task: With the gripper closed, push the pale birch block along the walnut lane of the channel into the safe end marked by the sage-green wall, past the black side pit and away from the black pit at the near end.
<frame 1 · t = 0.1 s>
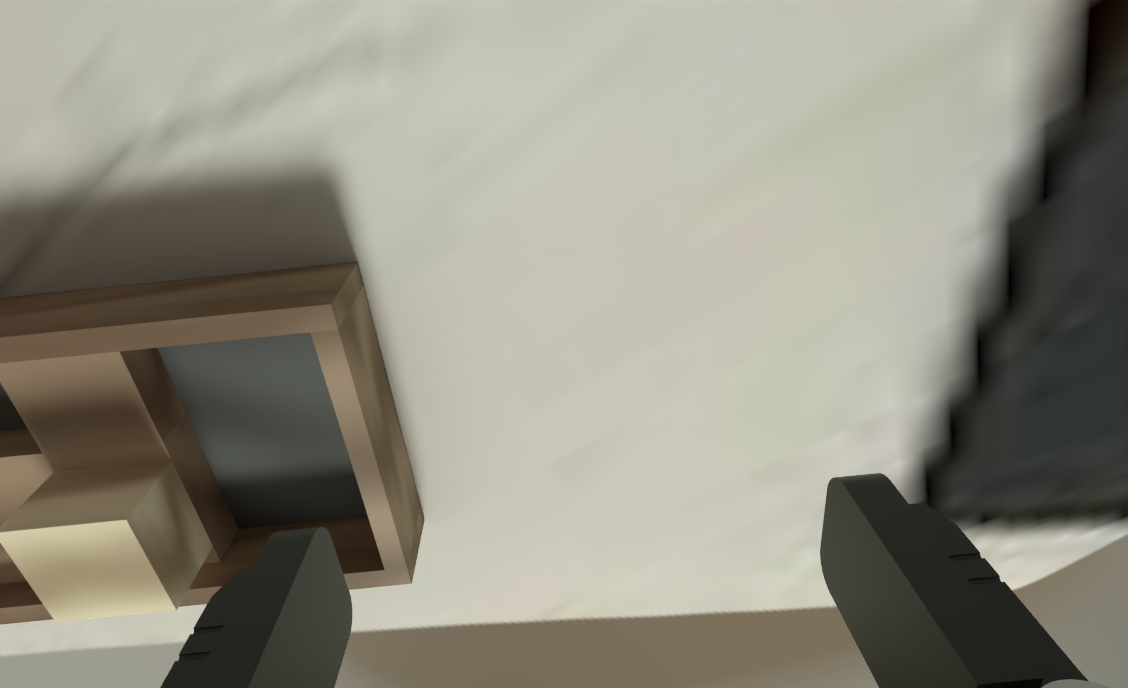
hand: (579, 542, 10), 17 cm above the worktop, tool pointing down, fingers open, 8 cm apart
birch block: (136, 510, 29), point 2 cm above the worktop, touching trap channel
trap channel: (111, 434, 30), on the worktop
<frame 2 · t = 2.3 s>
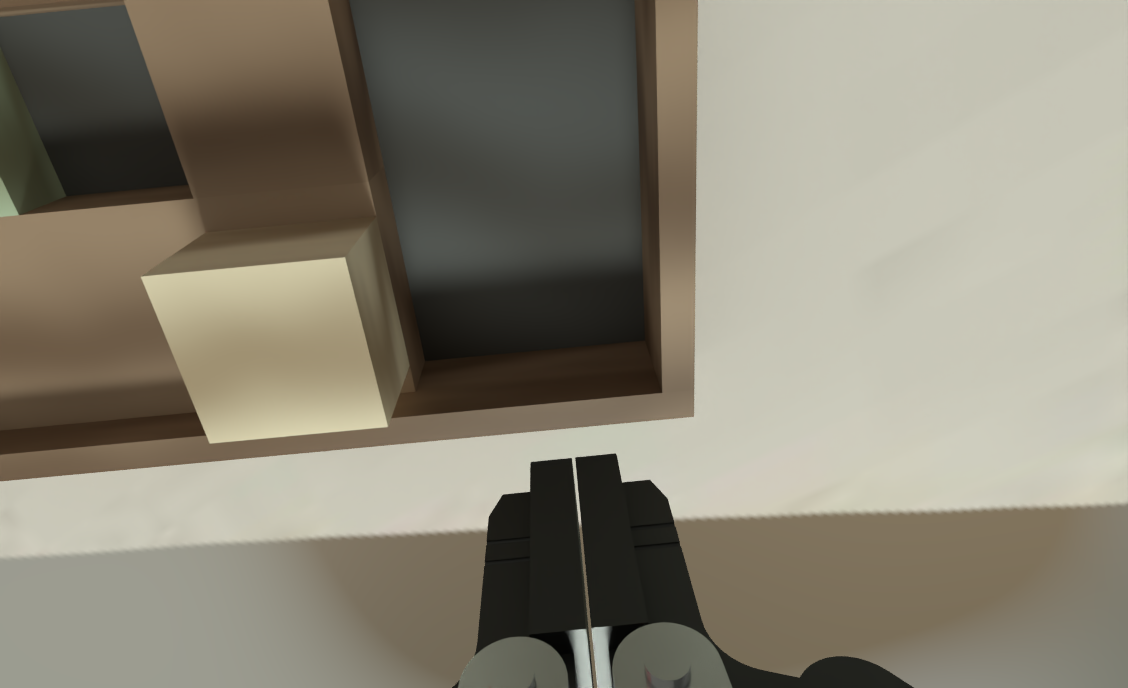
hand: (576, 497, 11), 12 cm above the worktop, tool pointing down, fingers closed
birch block: (313, 302, 20), point 2 cm above the worktop, touching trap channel
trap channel: (270, 206, 21), on the worktop
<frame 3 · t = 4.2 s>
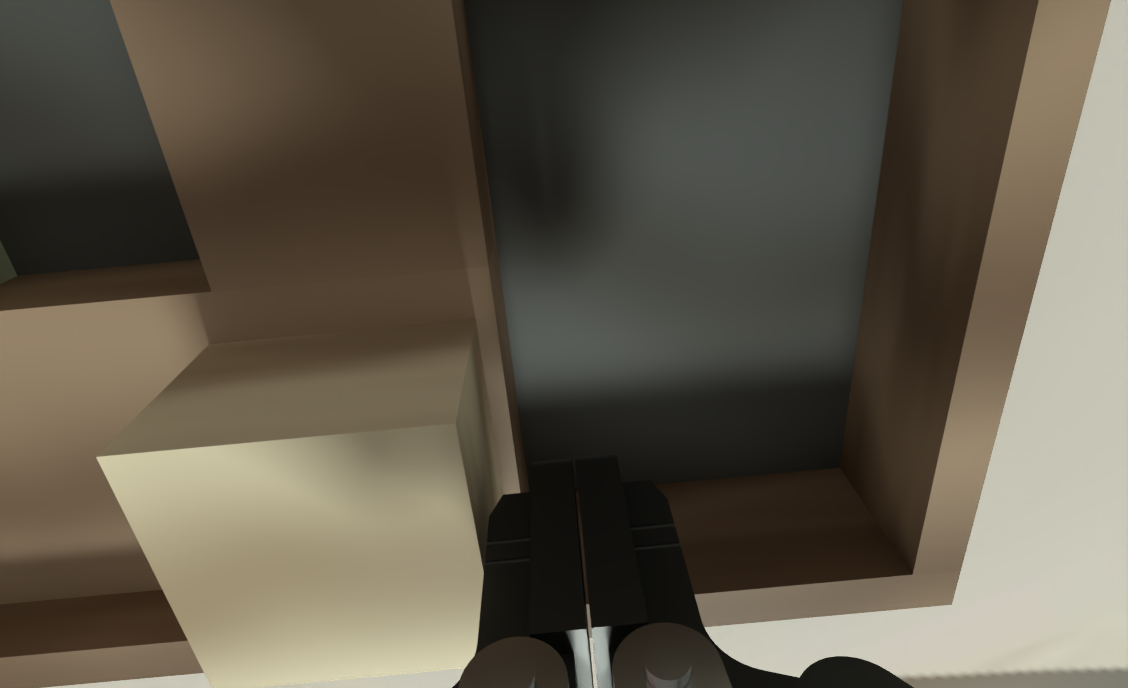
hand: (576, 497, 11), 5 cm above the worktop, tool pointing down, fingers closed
birch block: (371, 441, 13), point 3 cm above the worktop, touching gripper
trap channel: (321, 287, 14), on the worktop
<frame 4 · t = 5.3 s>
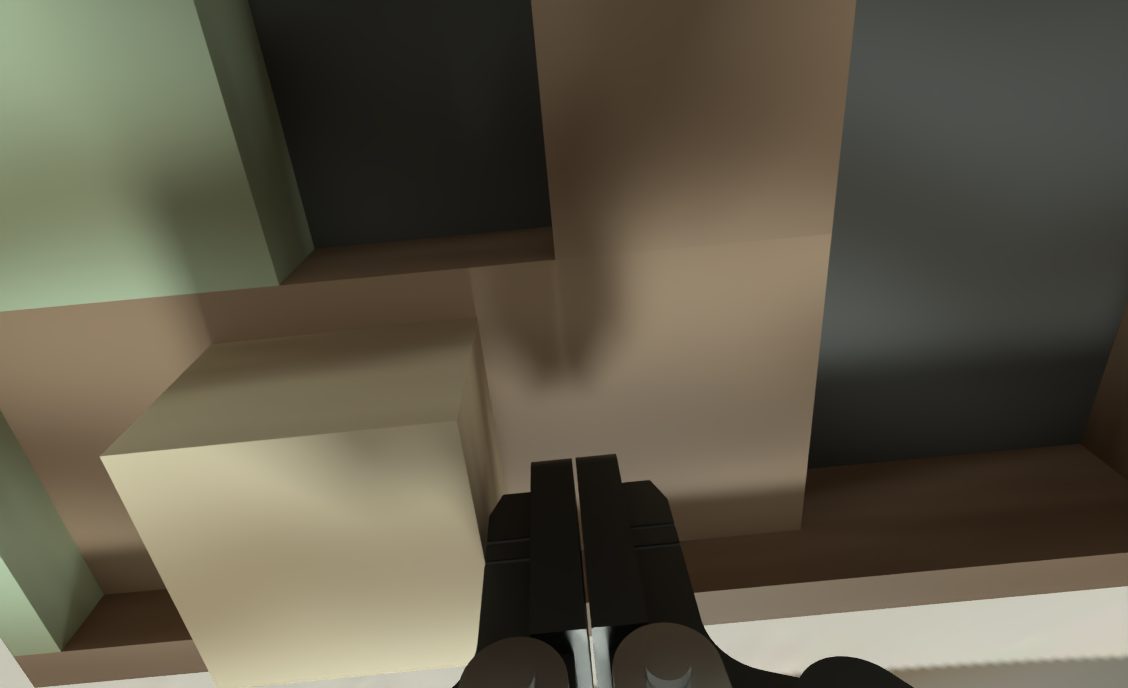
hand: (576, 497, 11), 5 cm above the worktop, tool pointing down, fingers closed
birch block: (373, 440, 13), point 2 cm above the worktop, touching gripper, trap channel
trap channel: (601, 261, 14), on the worktop
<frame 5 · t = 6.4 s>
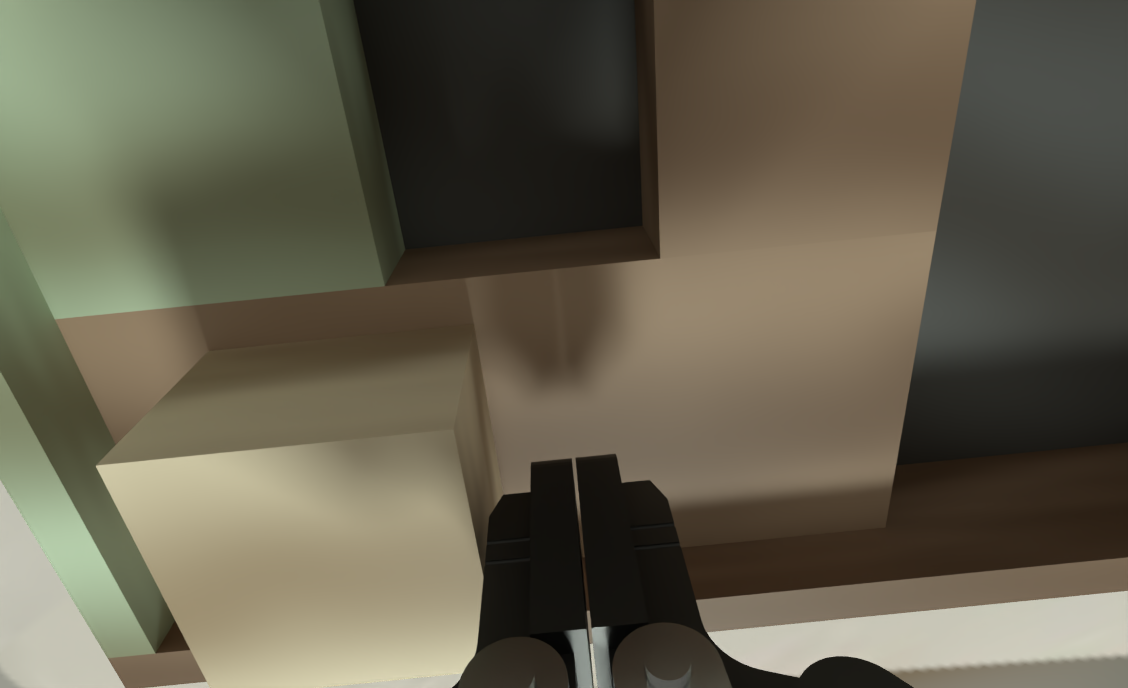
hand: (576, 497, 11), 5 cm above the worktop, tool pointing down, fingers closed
birch block: (371, 446, 13), point 2 cm above the worktop, touching gripper, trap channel
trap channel: (686, 260, 14), on the worktop
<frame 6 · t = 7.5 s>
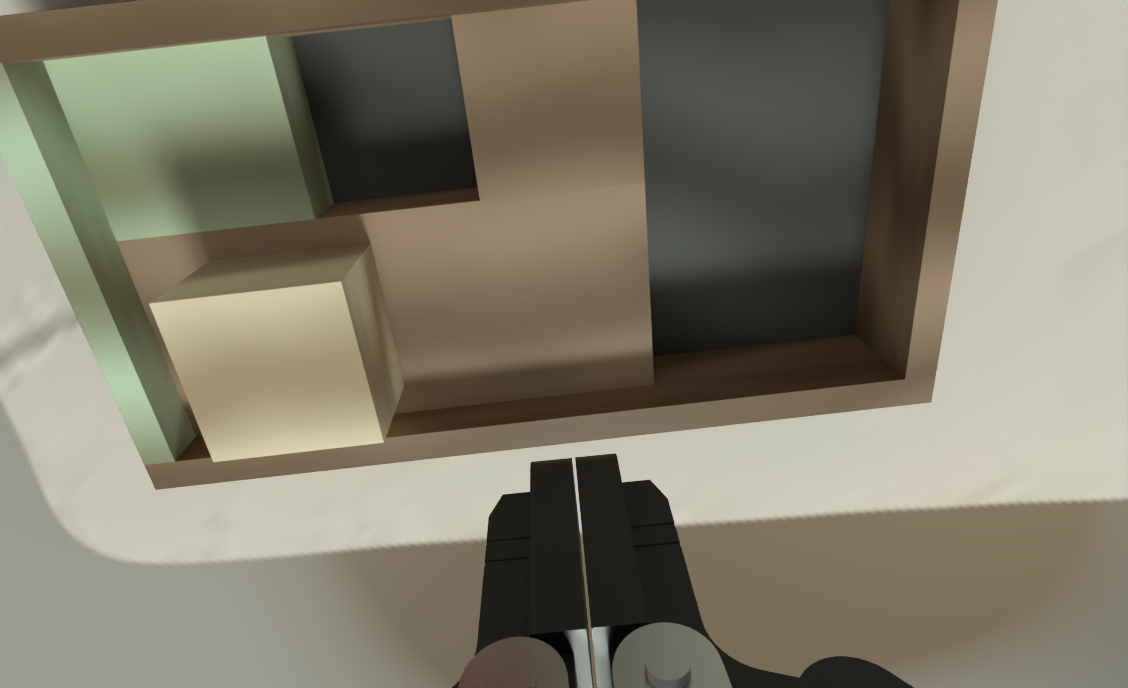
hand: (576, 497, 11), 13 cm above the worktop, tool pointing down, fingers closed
birch block: (311, 326, 21), point 2 cm above the worktop, touching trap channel
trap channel: (518, 210, 22), on the worktop
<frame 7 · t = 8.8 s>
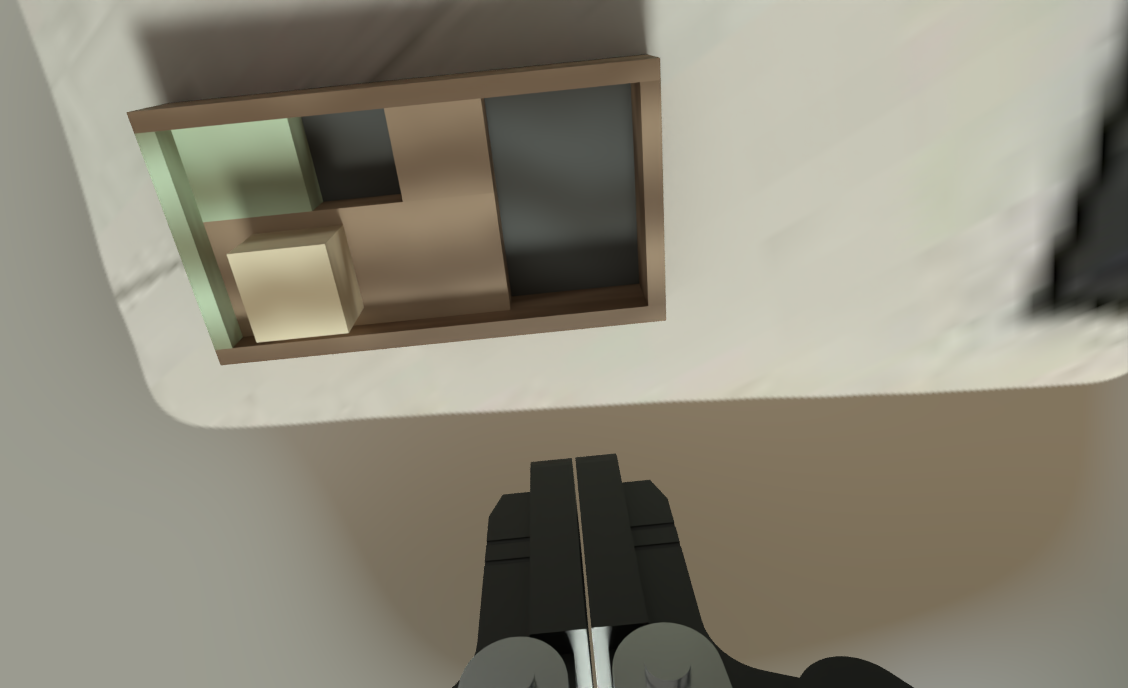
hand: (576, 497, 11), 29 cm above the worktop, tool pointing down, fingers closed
birch block: (310, 271, 37), point 2 cm above the worktop, touching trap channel
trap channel: (431, 206, 38), on the worktop
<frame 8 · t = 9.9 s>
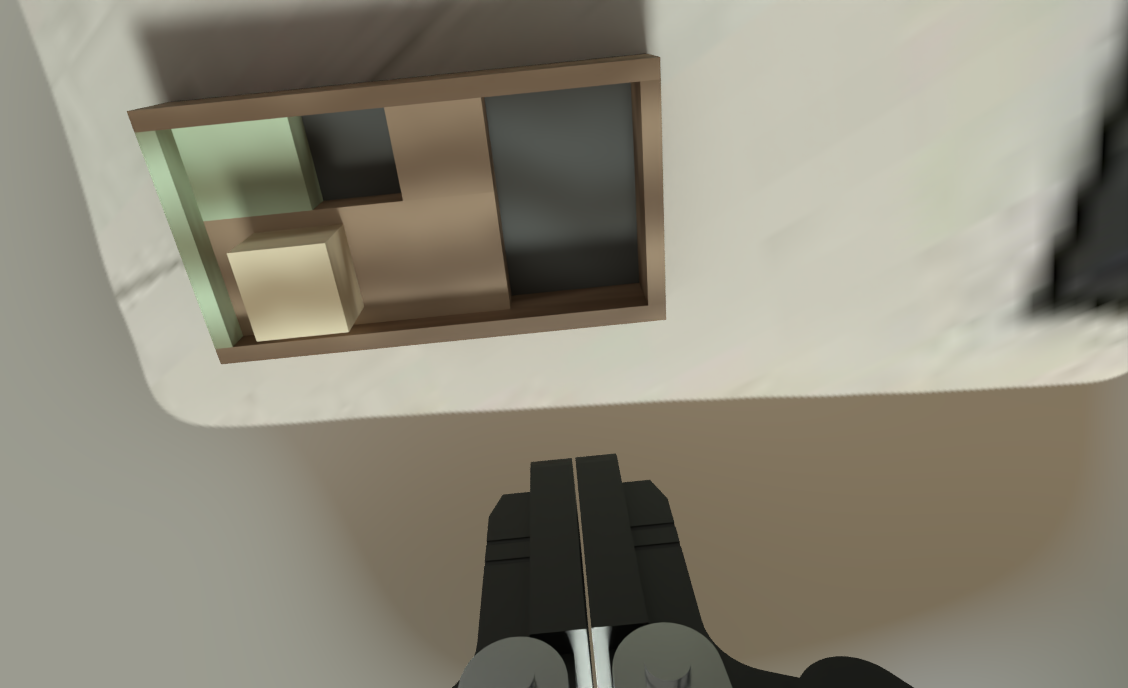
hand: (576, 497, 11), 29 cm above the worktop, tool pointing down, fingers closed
birch block: (310, 271, 37), point 2 cm above the worktop, touching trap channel
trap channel: (431, 205, 38), on the worktop
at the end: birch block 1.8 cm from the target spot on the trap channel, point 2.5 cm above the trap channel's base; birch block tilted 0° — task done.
